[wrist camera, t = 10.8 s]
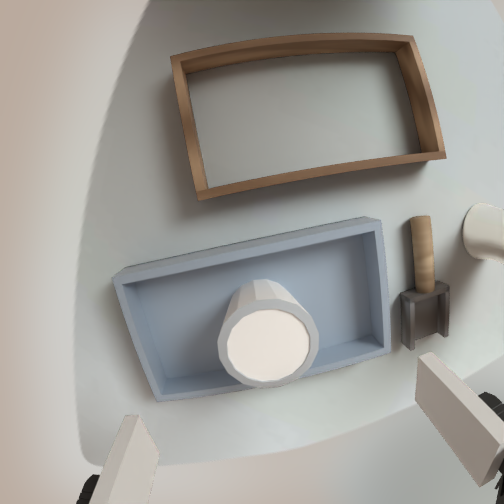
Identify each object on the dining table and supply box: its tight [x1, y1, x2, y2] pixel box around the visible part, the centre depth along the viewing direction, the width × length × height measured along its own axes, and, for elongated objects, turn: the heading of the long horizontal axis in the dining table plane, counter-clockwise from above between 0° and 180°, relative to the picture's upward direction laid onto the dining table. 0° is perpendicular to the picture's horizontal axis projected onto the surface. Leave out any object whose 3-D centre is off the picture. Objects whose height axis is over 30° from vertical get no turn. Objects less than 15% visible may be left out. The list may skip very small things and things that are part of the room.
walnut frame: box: [170, 33, 447, 201], centre depth 23 cm, size 12×21×3 cm, turn 102°
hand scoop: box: [400, 216, 449, 351], centre depth 27 cm, size 13×5×2 cm, turn 12°
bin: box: [112, 217, 391, 402], centre depth 26 cm, size 12×21×4 cm, turn 102°
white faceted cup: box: [217, 279, 319, 388], centre depth 24 cm, size 7×7×7 cm
